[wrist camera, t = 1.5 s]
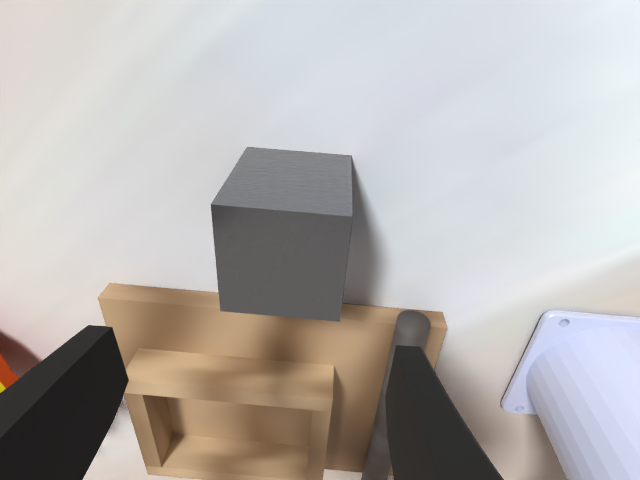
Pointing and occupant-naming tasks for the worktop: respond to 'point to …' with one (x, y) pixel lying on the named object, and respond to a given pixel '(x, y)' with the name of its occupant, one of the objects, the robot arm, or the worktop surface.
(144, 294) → the plate
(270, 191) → the grey rectangular block
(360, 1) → the worktop surface
